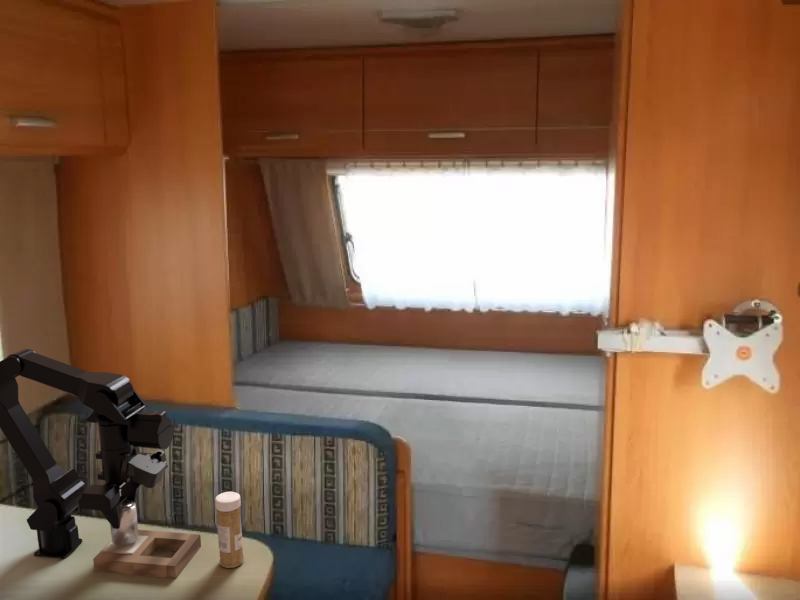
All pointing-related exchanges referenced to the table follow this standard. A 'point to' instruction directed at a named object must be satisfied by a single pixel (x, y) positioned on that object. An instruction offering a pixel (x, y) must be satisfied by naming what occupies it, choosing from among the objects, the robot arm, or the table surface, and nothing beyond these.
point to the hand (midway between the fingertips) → (123, 521)
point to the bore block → (149, 554)
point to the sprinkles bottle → (229, 529)
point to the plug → (126, 525)
